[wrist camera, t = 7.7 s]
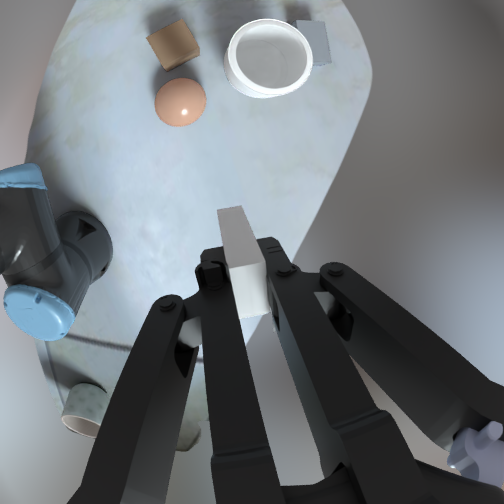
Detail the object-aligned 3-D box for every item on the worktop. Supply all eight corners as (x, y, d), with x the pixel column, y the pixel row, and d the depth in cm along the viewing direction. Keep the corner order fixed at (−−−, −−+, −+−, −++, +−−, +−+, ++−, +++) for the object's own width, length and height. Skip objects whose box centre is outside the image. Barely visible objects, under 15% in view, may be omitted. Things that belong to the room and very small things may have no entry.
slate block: (293, 66, 39) (303, 62, 35) (287, 27, 35) (296, 20, 31) (319, 66, 39) (331, 62, 35) (313, 28, 35) (324, 21, 31)
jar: (210, 55, 36) (214, 31, 23) (268, 38, 36) (296, 12, 23) (233, 108, 41) (246, 107, 28) (289, 90, 41) (324, 84, 28)
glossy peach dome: (162, 129, 41) (158, 131, 38) (155, 86, 37) (151, 84, 34) (208, 120, 42) (209, 121, 38) (203, 77, 38) (203, 73, 34)
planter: (65, 371, 65) (54, 409, 52) (113, 383, 70) (107, 423, 57) (75, 396, 72) (67, 431, 59) (117, 406, 77) (113, 442, 64)
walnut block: (167, 71, 36) (162, 66, 31) (152, 45, 33) (145, 37, 28) (199, 55, 36) (199, 47, 30) (184, 29, 33) (182, 18, 27)
